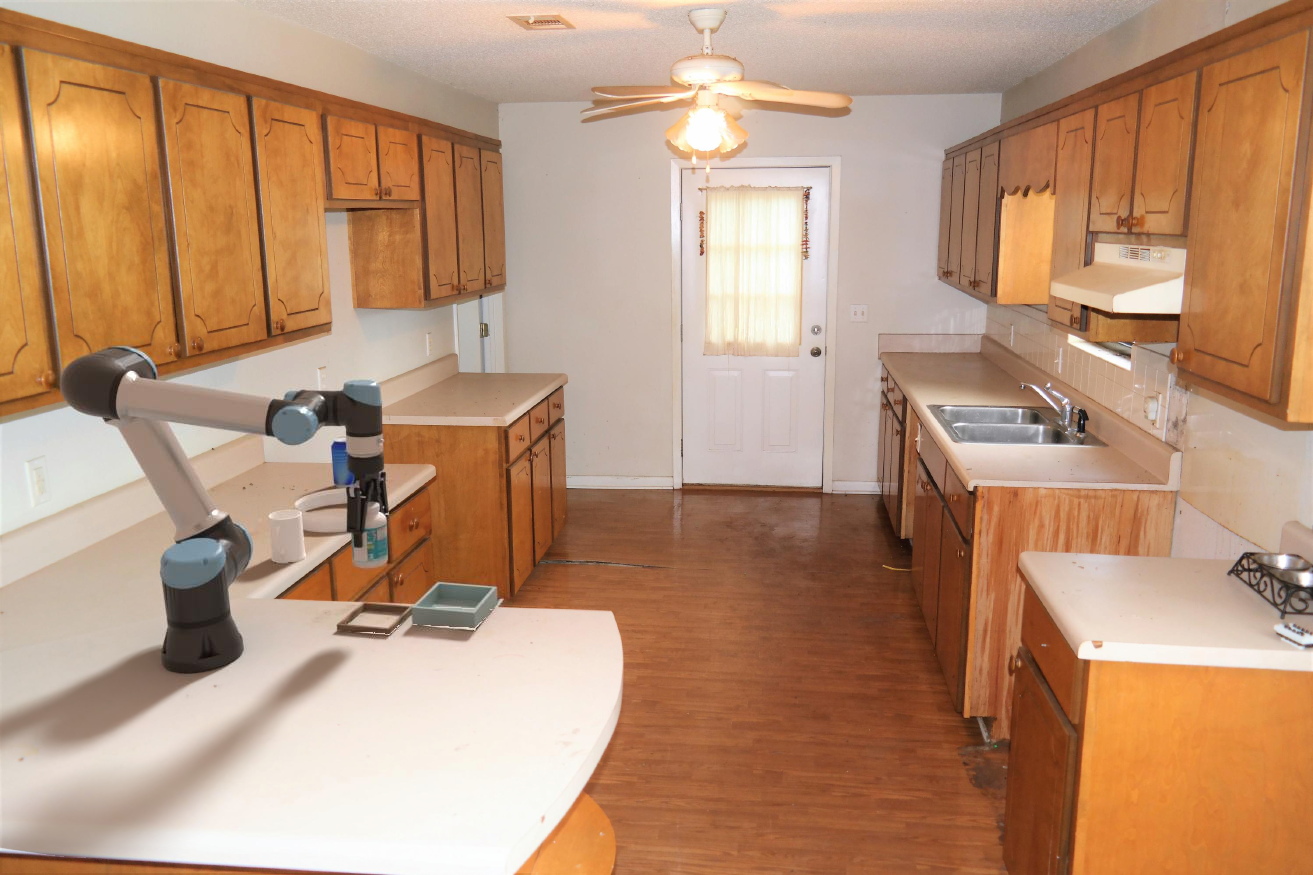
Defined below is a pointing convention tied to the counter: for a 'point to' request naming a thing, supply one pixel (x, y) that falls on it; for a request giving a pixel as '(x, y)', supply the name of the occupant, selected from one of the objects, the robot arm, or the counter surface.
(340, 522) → the white hollow ring
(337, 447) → the beer can
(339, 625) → the frame
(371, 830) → the counter surface
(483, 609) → the bin
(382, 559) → the pill bottle
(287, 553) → the mug
